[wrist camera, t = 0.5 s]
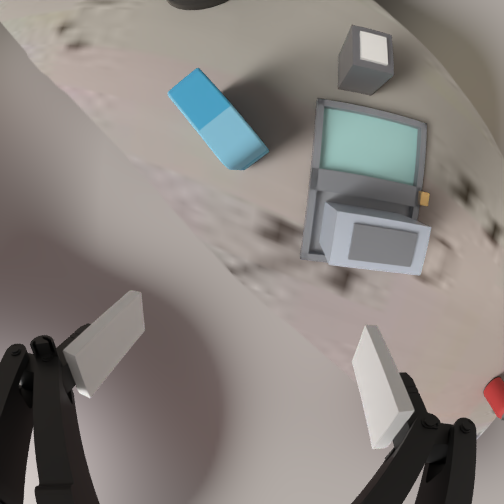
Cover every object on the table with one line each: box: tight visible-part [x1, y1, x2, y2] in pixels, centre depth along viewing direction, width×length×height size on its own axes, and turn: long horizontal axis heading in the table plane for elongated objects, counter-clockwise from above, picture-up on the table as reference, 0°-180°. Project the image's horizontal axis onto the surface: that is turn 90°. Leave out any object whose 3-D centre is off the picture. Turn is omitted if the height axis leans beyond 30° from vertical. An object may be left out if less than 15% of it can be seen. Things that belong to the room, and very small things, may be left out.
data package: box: [168, 68, 269, 170], centre depth 31 cm, size 12×4×12 cm, turn 37°
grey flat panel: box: [300, 98, 430, 263], centre depth 35 cm, size 23×18×2 cm
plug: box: [338, 25, 394, 95], centre depth 26 cm, size 6×5×10 cm
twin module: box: [319, 202, 431, 275], centre depth 33 cm, size 6×12×10 cm, turn 85°
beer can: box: [484, 377, 504, 420], centre depth 38 cm, size 7×7×12 cm
